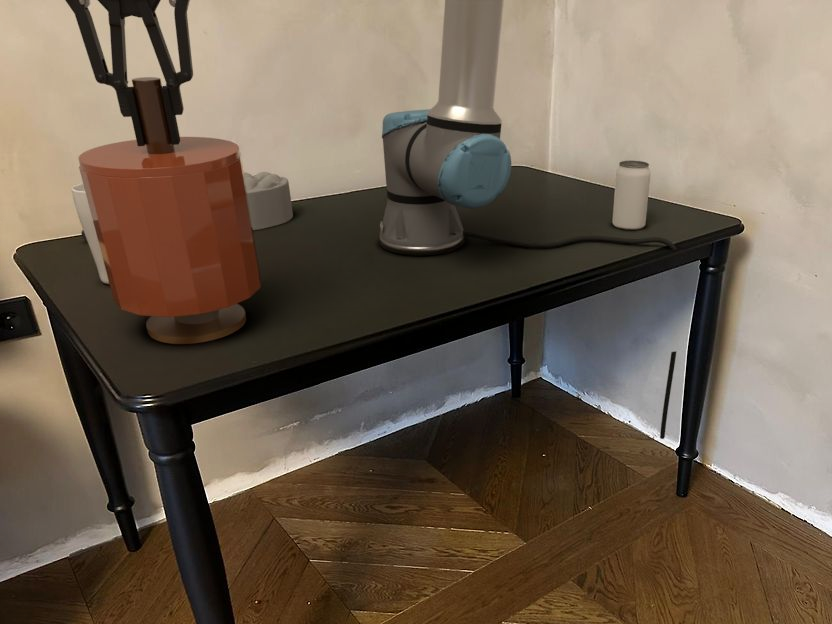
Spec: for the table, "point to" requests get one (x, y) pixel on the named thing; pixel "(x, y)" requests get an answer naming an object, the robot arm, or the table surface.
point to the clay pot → (171, 217)
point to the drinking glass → (89, 228)
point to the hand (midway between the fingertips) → (159, 142)
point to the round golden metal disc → (196, 327)
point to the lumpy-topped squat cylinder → (268, 199)
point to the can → (631, 195)
